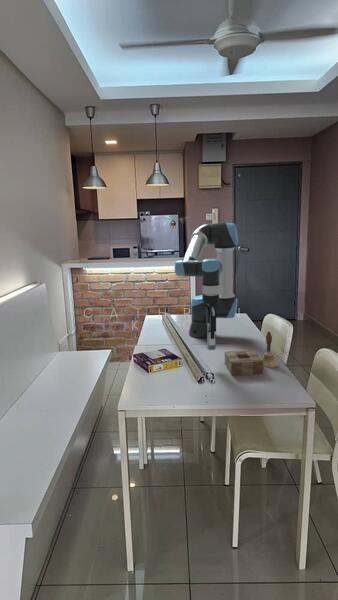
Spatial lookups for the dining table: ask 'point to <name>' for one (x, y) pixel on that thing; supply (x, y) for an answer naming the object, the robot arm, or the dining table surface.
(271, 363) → the hand bell
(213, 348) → the peg
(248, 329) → the dining table surface
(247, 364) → the socket
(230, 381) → the dining table surface
